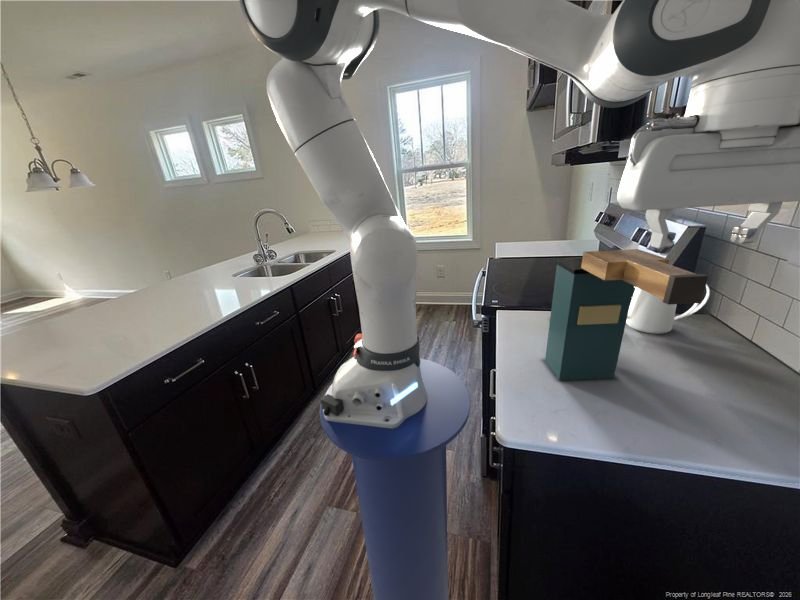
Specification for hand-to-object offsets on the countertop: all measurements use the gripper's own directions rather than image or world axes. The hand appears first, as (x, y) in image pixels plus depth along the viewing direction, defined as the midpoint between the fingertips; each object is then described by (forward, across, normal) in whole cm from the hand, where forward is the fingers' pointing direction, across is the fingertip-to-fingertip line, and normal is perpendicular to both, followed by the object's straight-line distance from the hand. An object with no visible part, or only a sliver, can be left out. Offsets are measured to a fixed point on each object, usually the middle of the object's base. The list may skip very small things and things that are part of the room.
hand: (701, 244), depth 38 cm
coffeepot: (+35, +32, +46) cm, 66 cm away
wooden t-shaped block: (+9, +3, +13) cm, 16 cm away
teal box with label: (+35, +3, +26) cm, 44 cm away
